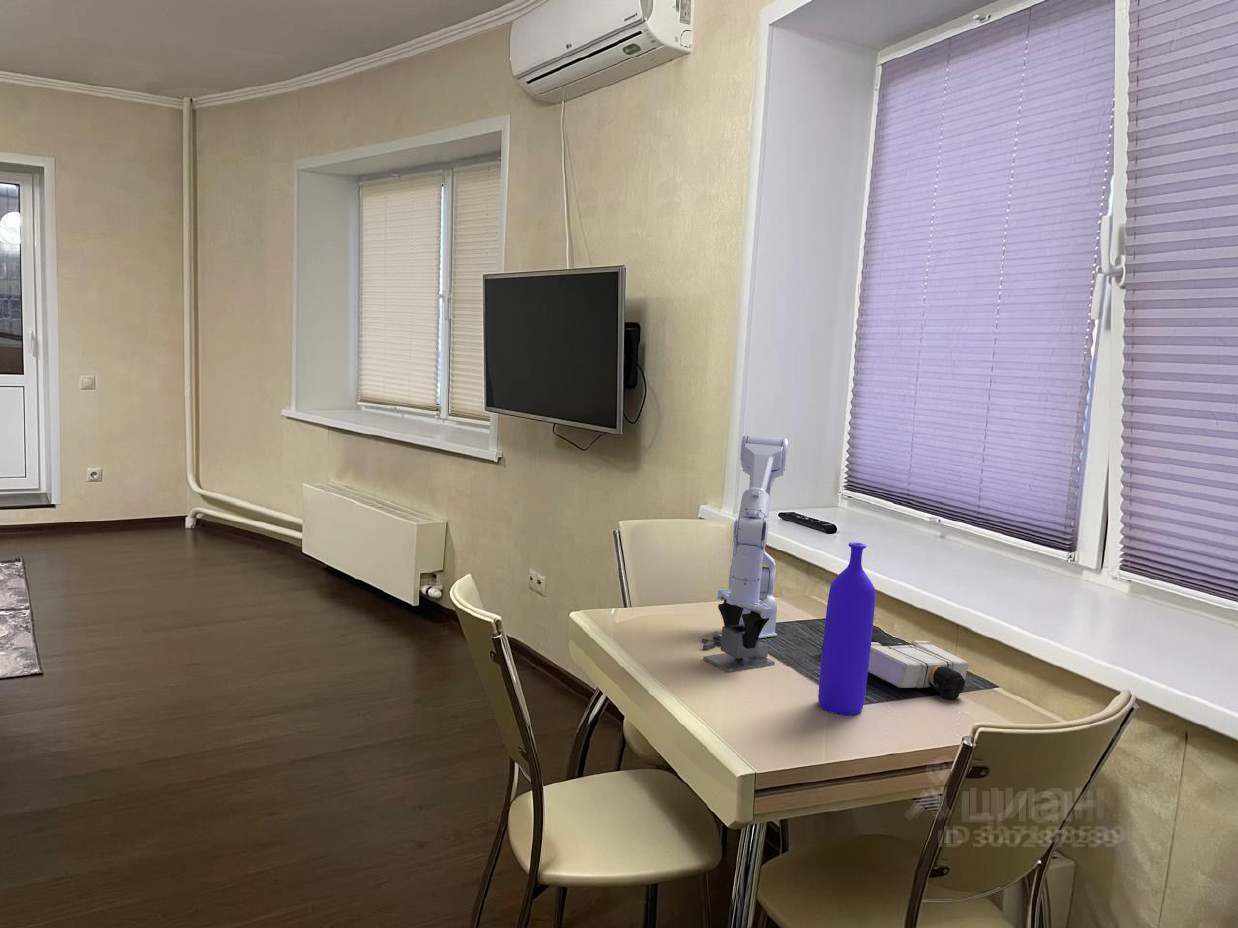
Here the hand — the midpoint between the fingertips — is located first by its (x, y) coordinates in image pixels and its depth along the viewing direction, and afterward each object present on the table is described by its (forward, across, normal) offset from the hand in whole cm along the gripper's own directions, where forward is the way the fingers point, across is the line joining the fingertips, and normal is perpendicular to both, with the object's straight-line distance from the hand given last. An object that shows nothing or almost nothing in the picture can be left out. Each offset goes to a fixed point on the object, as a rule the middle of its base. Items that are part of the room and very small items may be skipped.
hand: (740, 643), depth 190 cm
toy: (+4, +18, +27) cm, 32 cm away
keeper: (+4, 0, 0) cm, 4 cm away
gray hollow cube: (+2, 0, 0) cm, 2 cm away
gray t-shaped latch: (+4, -11, +2) cm, 12 cm away
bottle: (+4, +26, +2) cm, 26 cm away
